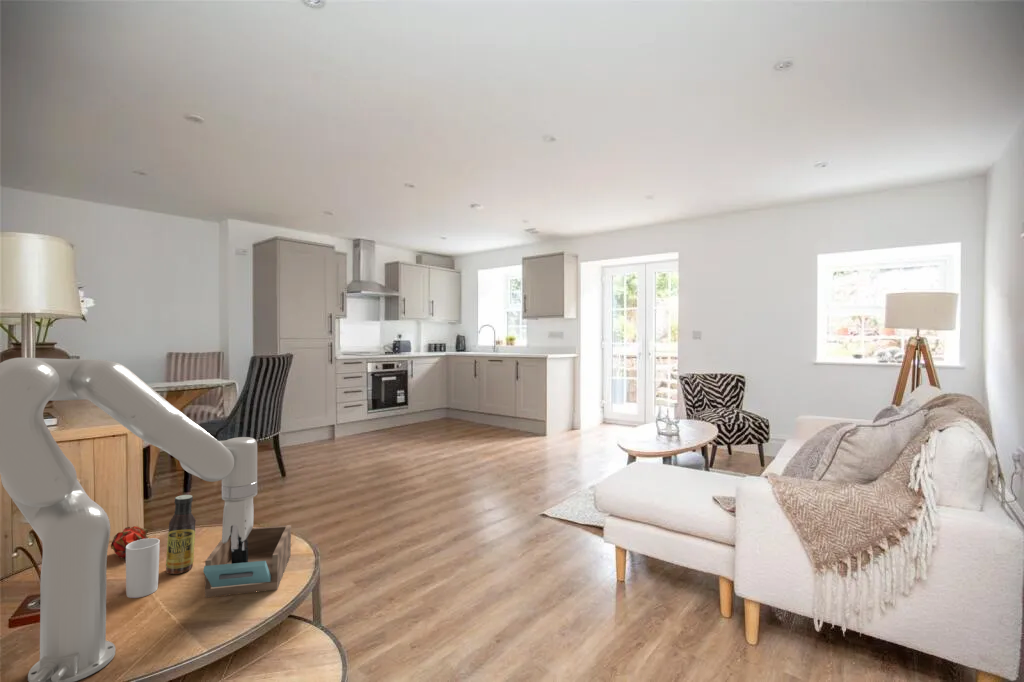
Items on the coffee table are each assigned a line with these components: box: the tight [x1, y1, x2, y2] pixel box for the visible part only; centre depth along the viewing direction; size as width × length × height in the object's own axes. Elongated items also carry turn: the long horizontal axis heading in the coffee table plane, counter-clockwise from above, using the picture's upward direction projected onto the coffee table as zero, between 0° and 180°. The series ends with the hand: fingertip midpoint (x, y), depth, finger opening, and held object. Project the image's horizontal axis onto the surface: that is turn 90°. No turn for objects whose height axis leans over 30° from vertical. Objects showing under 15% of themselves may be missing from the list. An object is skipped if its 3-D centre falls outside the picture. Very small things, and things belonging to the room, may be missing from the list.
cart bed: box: [204, 524, 292, 598], centre depth 133 cm, size 20×16×9 cm
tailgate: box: [202, 561, 271, 587], centre depth 120 cm, size 2×13×10 cm
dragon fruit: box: [110, 525, 150, 561], centre depth 143 cm, size 8×8×12 cm
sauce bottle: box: [165, 494, 197, 575], centre depth 135 cm, size 7×6×20 cm
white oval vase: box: [125, 537, 160, 599], centre depth 125 cm, size 10×7×12 cm, turn 24°
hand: (239, 565), depth 120 cm, fingers closed
